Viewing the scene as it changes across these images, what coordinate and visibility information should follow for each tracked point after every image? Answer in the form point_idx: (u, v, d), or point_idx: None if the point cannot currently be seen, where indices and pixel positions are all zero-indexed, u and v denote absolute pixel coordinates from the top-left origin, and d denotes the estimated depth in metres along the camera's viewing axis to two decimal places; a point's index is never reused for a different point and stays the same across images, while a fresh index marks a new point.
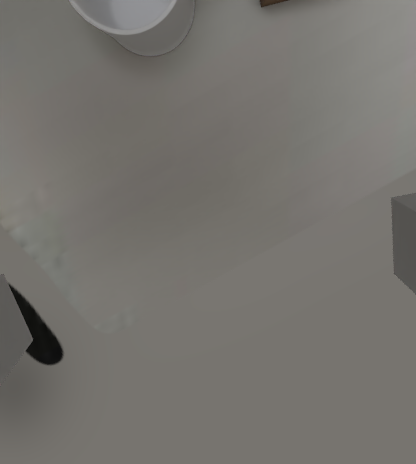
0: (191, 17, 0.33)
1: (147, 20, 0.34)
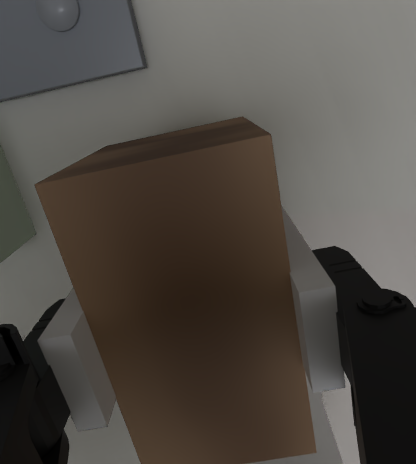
0: None
1: None
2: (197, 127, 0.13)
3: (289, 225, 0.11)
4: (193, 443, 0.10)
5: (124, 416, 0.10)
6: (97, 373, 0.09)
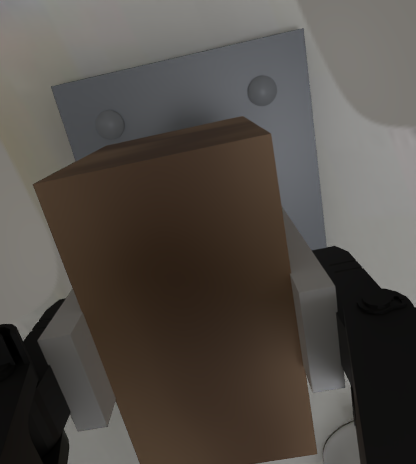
0: None
1: None
2: (197, 126, 0.13)
3: (289, 225, 0.11)
4: (193, 444, 0.10)
5: (123, 417, 0.10)
6: (97, 373, 0.09)
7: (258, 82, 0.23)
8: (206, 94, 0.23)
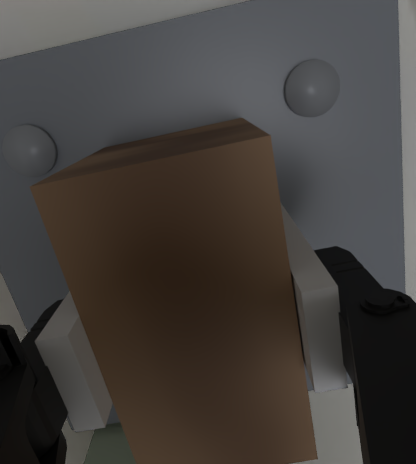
0: None
1: None
2: (196, 128, 0.12)
3: (291, 225, 0.11)
4: (192, 449, 0.10)
5: (121, 422, 0.10)
6: (95, 374, 0.09)
7: (305, 72, 0.12)
8: (207, 94, 0.13)
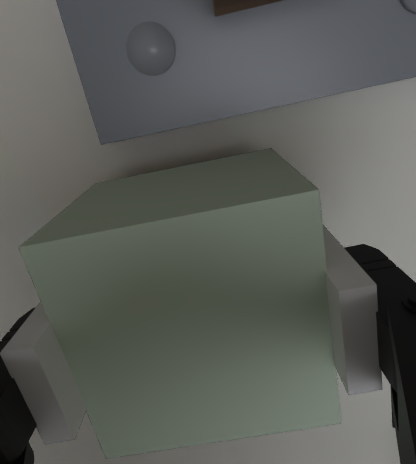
0: None
1: None
2: None
3: None
4: None
5: None
6: (64, 385, 0.09)
7: None
8: None
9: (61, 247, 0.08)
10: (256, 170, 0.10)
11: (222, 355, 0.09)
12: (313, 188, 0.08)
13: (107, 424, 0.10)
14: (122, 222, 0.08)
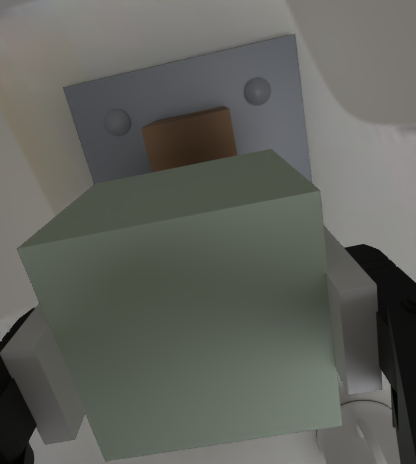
0: (379, 409, 0.36)
1: None
2: (201, 111, 0.25)
3: None
4: None
5: None
6: (64, 385, 0.09)
7: (254, 83, 0.25)
8: (206, 94, 0.26)
9: (60, 248, 0.08)
10: (256, 171, 0.10)
11: (222, 357, 0.09)
12: (314, 189, 0.08)
13: (106, 426, 0.10)
14: (121, 223, 0.08)
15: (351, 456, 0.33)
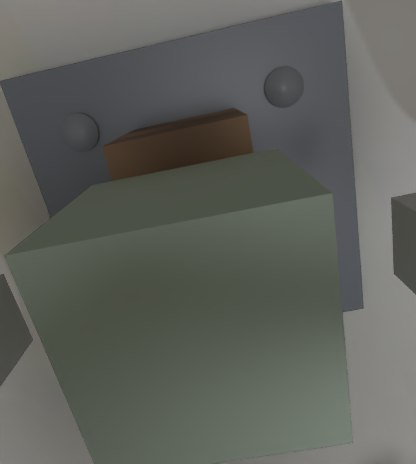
0: None
1: None
2: (201, 115, 0.17)
3: None
4: None
5: None
6: None
7: (279, 75, 0.17)
8: (208, 91, 0.17)
9: (51, 255, 0.07)
10: (261, 171, 0.10)
11: (226, 371, 0.08)
12: (326, 191, 0.07)
13: (102, 443, 0.09)
14: (117, 228, 0.08)
15: None
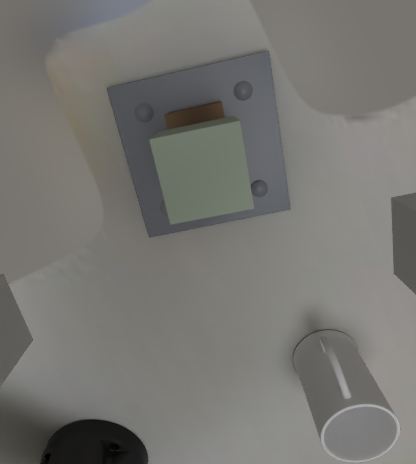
0: (340, 335, 0.47)
1: None
2: None
3: None
4: None
5: None
6: None
7: (240, 85, 0.36)
8: (207, 92, 0.36)
9: (162, 139, 0.26)
10: (224, 120, 0.28)
11: (212, 179, 0.27)
12: (238, 120, 0.26)
13: (171, 208, 0.28)
14: (180, 132, 0.26)
15: (316, 365, 0.43)
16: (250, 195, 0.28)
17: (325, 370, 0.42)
